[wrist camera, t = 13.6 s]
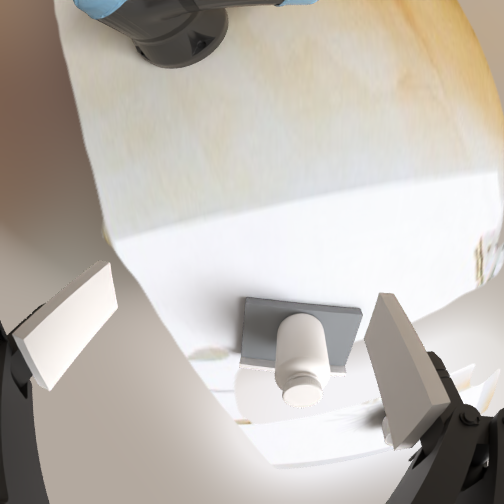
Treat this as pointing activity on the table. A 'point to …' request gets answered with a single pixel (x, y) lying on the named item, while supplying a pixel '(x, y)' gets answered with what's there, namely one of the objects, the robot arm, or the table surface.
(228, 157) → the table surface
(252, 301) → the shelf
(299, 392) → the pill bottle
